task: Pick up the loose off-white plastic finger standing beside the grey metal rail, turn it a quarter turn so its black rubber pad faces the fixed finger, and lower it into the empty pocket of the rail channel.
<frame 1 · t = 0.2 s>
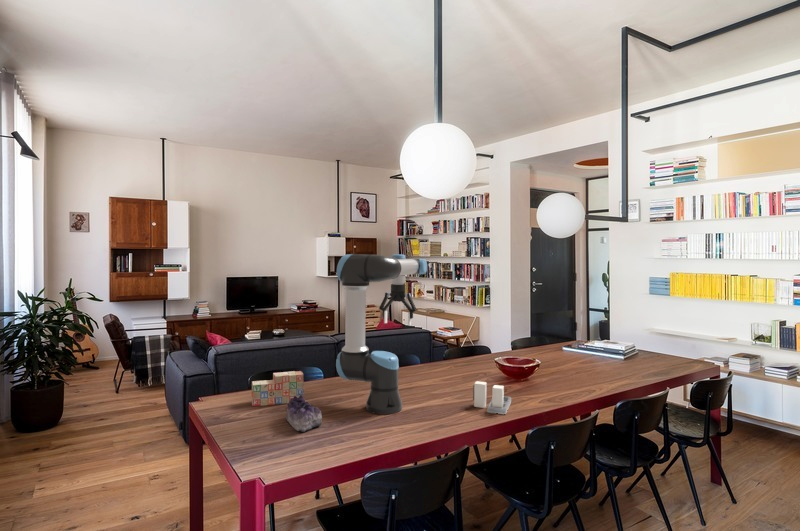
hand: (397, 324, 248), 28 cm above the table, fingers open, 13 cm apart
stack of blocks: (277, 402, 205), on the table
fixed finger: (497, 410, 198), resting on rail
geode: (300, 424, 180), on the table
rail: (499, 406, 202), on the table
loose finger: (480, 405, 203), on the table
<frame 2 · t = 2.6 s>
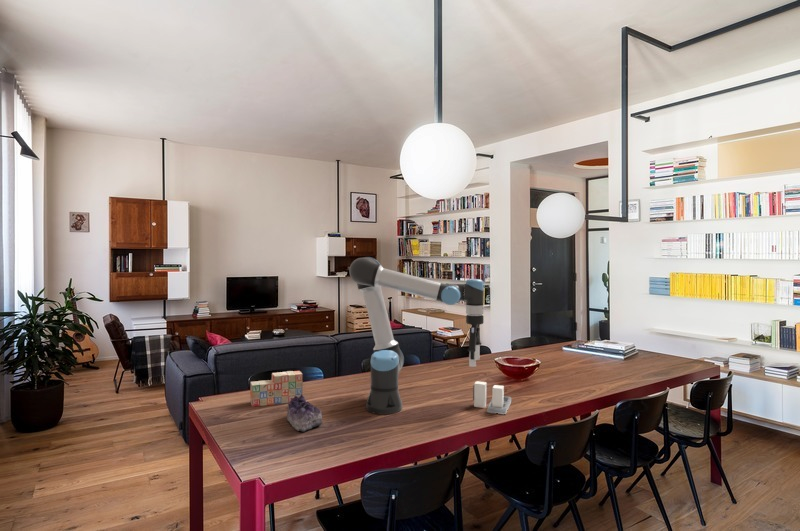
hand: (474, 363, 206), 18 cm above the table, fingers open, 13 cm apart
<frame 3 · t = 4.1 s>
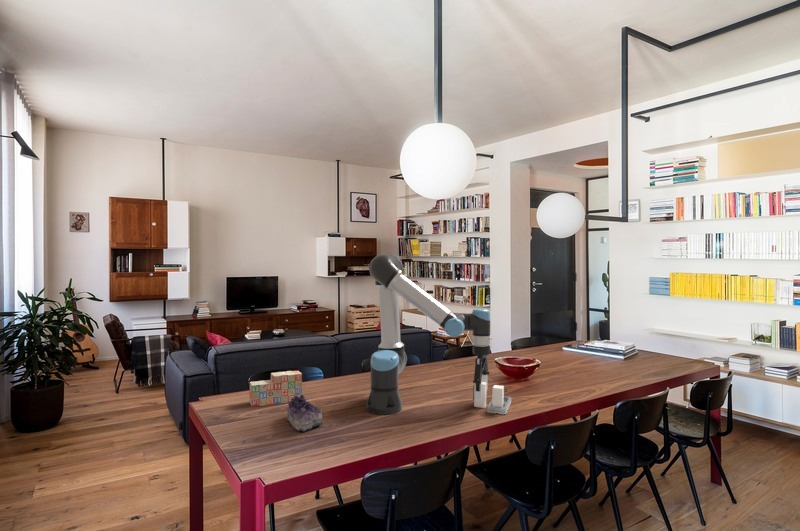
hand: (481, 393, 203), 5 cm above the table, fingers open, 13 cm apart
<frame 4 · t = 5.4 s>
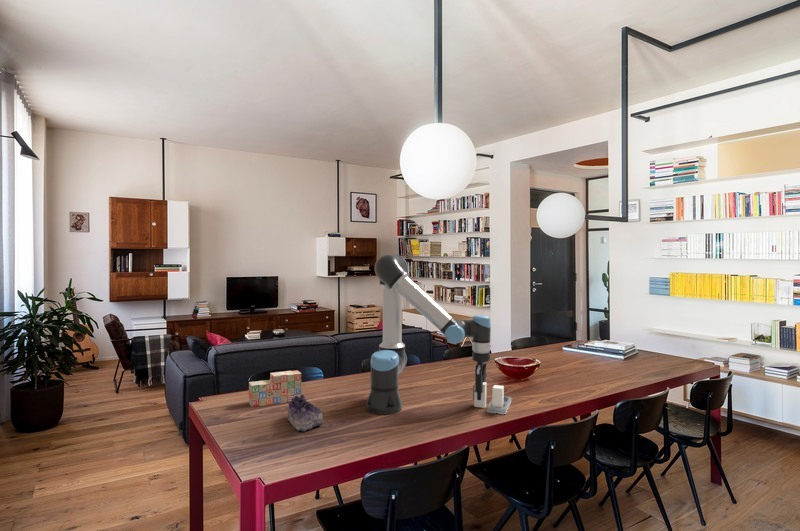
hand: (480, 405, 203), 0 cm above the table, fingers closed on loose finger, 4 cm apart
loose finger: (480, 405, 203), on the table, touching gripper
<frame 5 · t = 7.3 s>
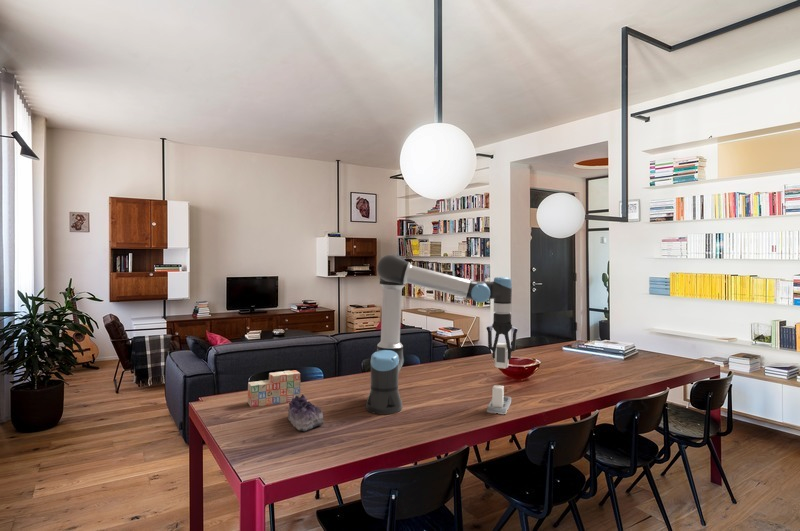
hand: (501, 366, 205), 17 cm above the table, fingers closed on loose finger, 4 cm apart
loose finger: (501, 366, 205), point 16 cm above the table, touching gripper
when the fingers open (3 cm above the table, at t = 9.6 s): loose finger drops 2 cm, resting on rail.
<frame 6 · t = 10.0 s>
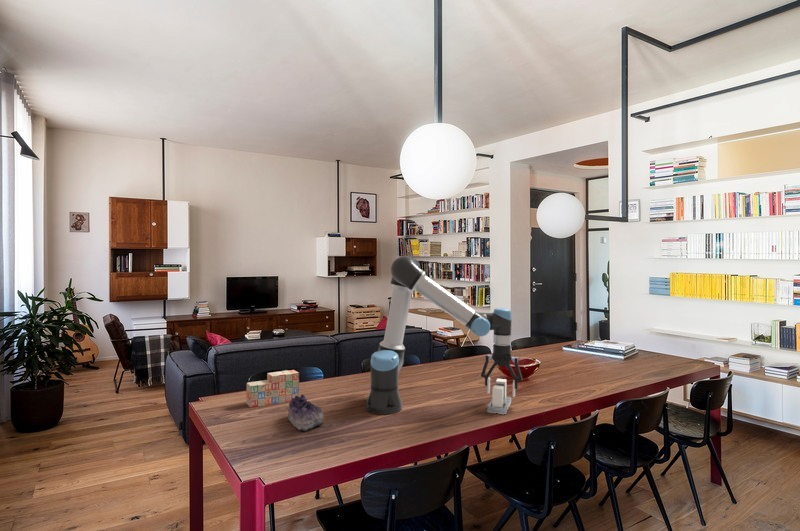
hand: (501, 394, 206), 4 cm above the table, fingers open, 10 cm apart
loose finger: (500, 403, 206), point 1 cm above the table, touching rail
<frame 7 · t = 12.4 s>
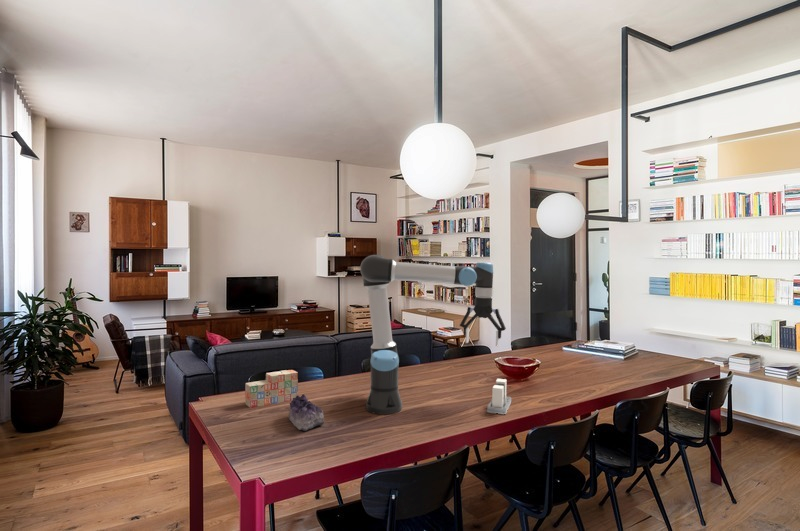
hand: (481, 344, 212), 25 cm above the table, fingers open, 13 cm apart
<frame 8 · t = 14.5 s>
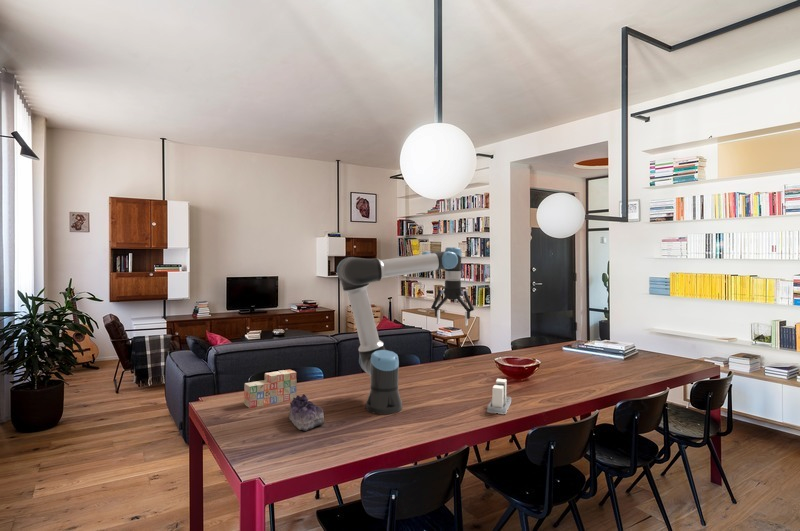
hand: (452, 324, 223), 32 cm above the table, fingers open, 13 cm apart
at the end: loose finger 0.4 cm from the target spot on the rail, point 0.6 cm above the rail's base; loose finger tilted 0°; the gripper is holding nothing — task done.
